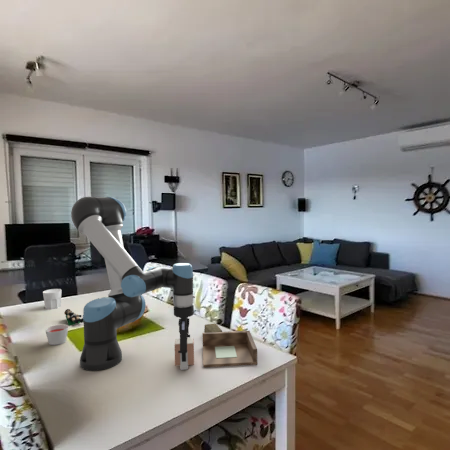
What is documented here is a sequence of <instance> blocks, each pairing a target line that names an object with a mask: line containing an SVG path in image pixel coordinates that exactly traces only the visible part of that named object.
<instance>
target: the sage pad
mask: <svg viewBox="0 0 450 450" xmlns="http://www.w3.org/2000/svg"><path fill="white" fill-rule="evenodd" d="M215 352H216V358H235V357H237V355H236V351H235V347H234V346H222V347H215Z"/></svg>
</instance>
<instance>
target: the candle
mask: <svg viewBox="0 0 450 450" xmlns="http://www.w3.org/2000/svg"><path fill="white" fill-rule="evenodd" d="M44 331H45V334H46V339H47V342H48V345H51V346H58V345H61V344H64V343H65V342H66V341H67V337H68V331H69V325H68V324H55V325H51V326H48V327H47V328H46V329H45V330H44Z"/></svg>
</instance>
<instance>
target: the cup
mask: <svg viewBox="0 0 450 450" xmlns="http://www.w3.org/2000/svg"><path fill="white" fill-rule="evenodd" d="M42 295H43V296H42V297H43V301H44V308H45V309H46V310H55V309H58V308H60V307H62V289H61V288H51V289H46V290H44V291H42Z"/></svg>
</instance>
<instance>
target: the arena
mask: <svg viewBox="0 0 450 450" xmlns="http://www.w3.org/2000/svg"><path fill="white" fill-rule="evenodd" d="M222 346H234V347H235V351H236V355H237V357H235V358H216V352H215V347H222ZM202 362H203V363H202V364H203V365H202V367H203V368H217V367H219V368H221V367H235V366H236V367H238V366H239V367H240V366H254V365H255V366H256V365H258V348H257V344H256V343H255V341H254V337H253V335H252V332H251V331H250V330H236V331H234V330H233V331H231V330H230V331H222V332H208V333H204V332H202Z"/></svg>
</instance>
